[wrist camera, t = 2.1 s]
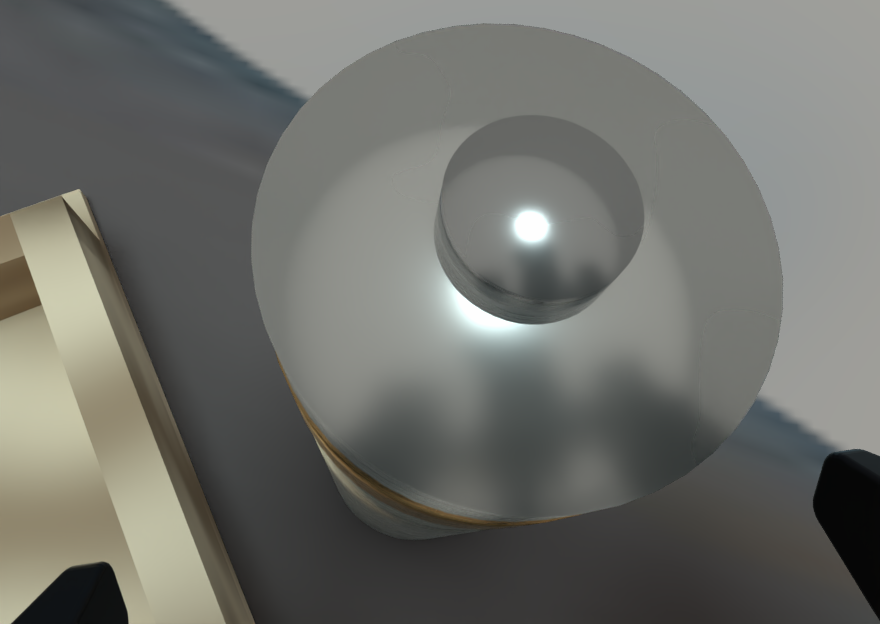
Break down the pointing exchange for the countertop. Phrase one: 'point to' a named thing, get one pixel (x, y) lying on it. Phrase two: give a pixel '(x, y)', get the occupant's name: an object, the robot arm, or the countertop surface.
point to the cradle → (93, 436)
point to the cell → (511, 279)
